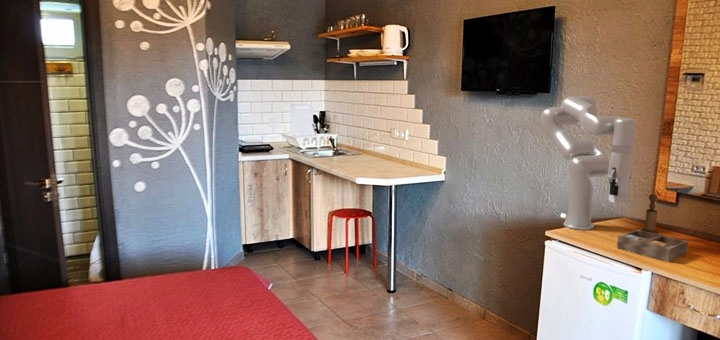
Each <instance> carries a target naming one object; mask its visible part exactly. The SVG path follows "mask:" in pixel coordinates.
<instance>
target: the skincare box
mask: <svg viewBox="0 0 720 340" xmlns="http://www.w3.org/2000/svg"><path fill="white" fill-rule="evenodd" d="M614 177H616V178H617V175H616V173H615V176H614ZM630 180H631V178H630V173H629V172H628V173H626V174H625V177H624V178H622V179H619V182H618V185H617V186H619V187H618V195H617V196H615V195H610V194H609V192H610V187H608V188H609V189H608V191H609V192H608V201H609V202H611V203H615V204H618V203H619V204H620V203H628V202H629V193H630V182H631V181H630ZM615 182H616V179H615Z"/></svg>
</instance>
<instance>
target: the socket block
mask: <svg viewBox="0 0 720 340" xmlns="http://www.w3.org/2000/svg"><path fill="white" fill-rule="evenodd" d="M641 230H642V229H636V230H632V231H629V232H627V233H624V234H620V235H618V236H617V244H616V249H617V248H618V249H617V250H620V249H622V250H621V251H624V250H626V251H625V252H628V251H630V252H629V253H631V252H634V253H633V254H635V253H637V254H636V255H639V254H640V256H643V255H644V257H647V258H650V259H654V260H659V261H662V262H665V263H670V262H672V261H675V260H677V259H678V258H681V257H684V256H686V255H687V254H688V247H689V241H688V240H683V239H680V238H675V237H671V236H666V235H662V234H659V233H658V234H654V233H650V232H645V231H641Z"/></svg>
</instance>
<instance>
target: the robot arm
mask: <svg viewBox="0 0 720 340" xmlns="http://www.w3.org/2000/svg"><path fill="white" fill-rule="evenodd" d="M597 115H598V109H597V107H596V102H595V99H594V98H592V97H591V96H589V95H571V96H567V97H565V98H564V99H563V100H562V102H561V104H560V106H552V107H548V108H546V109H544V110H543V111H542V113H541V115H540V125H541V127H542V129H543V132H544V133H545V134H546V136H548V138H549V139H550V140H551V141H552V143H554V145H555V146H556V148H557V150H558V151H559V152H560V154H561V155H562V157H563V158H565V160H566V161H569V163H568V171H569V193H568V194H569V195H568V210H567V211H568V212H567V213H563V212H562V213H561V214H560V219H564V220H565V221H563V227H566V228H569V229H572V230H579V231H588V230H593V229H594V228H595V225H594V224H593V222H591V221H592V220H591V219H592V210H593V209H592V207H593V197H594V196H593V194H594V187H593V186H594V185H593V183H592V182H591V179H590V178H598V177H599V178H600V177H604V176H607V179H608V181H609V183H608V185H609V188H610V192H608V195H609V194H610V195H615V196H617V195H618V187H619V186H617V185H618V182H619V179H622V178H624V177H625V174H626V173H628V172H629V173H630V179H631V178H632V175H633V154H634V142H635V131H636V120H635V119H634V118H630V117H623V116H622V117H621V116H618V115H617V116H614V115H611V116H603V115H602V116H597ZM578 123H579V125H580V127H581V128H582V130H583V131H586V132H587V133H589V134H591V135H594V136H612V144H611V145H612V148H611V155H610V158H608V157H607V155H606V154H605V152H603V150H602V149H601V147H600V146H599V145H598V144H597V142H595V141H594V140H592V139H590V138H576V137H574V135H573V134H572V133H571V131H570V130H569V129H568V128H566V127H564V126H571V125H572V126H573V125H576V124H578ZM615 173H616V175H617V178H616V177H614V176H615ZM615 179H616V182H615Z"/></svg>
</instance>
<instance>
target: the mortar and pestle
mask: <svg viewBox="0 0 720 340" xmlns="http://www.w3.org/2000/svg"><path fill="white" fill-rule="evenodd" d="M648 200H649V201H650V203H649V205H648V207H649V209H646V210H645V211H646V212H645V222H644V227H643V228H641V229H640V230H641V231H645V232H650V233H654V234H659V231H658V230H657V229H656V225H657V217H658V210H656V209H655V208H656V204H655V203H656V201H657V200H658V196H657V195H656V194H655V193H651V194H649V196H648Z"/></svg>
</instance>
